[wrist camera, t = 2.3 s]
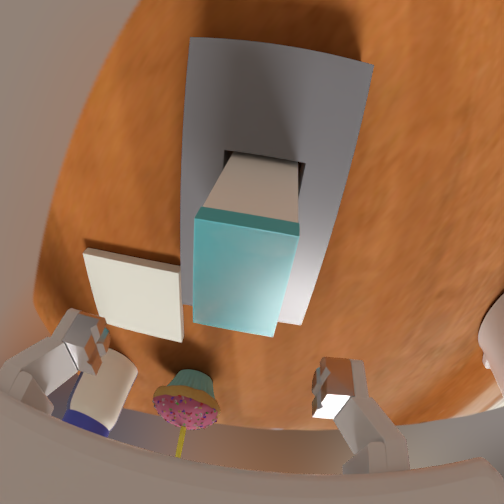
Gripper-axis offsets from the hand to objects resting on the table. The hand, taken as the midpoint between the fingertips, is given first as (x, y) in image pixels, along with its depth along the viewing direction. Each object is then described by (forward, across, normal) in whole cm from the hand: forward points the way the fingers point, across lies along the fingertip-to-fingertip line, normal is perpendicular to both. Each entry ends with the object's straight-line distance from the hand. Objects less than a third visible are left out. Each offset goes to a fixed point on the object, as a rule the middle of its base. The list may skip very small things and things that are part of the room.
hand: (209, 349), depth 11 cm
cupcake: (+15, +4, +28) cm, 32 cm away
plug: (+15, -1, 0) cm, 15 cm away
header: (+15, -1, 0) cm, 15 cm away
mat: (+15, +10, +14) cm, 23 cm away
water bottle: (+16, +16, +30) cm, 37 cm away
